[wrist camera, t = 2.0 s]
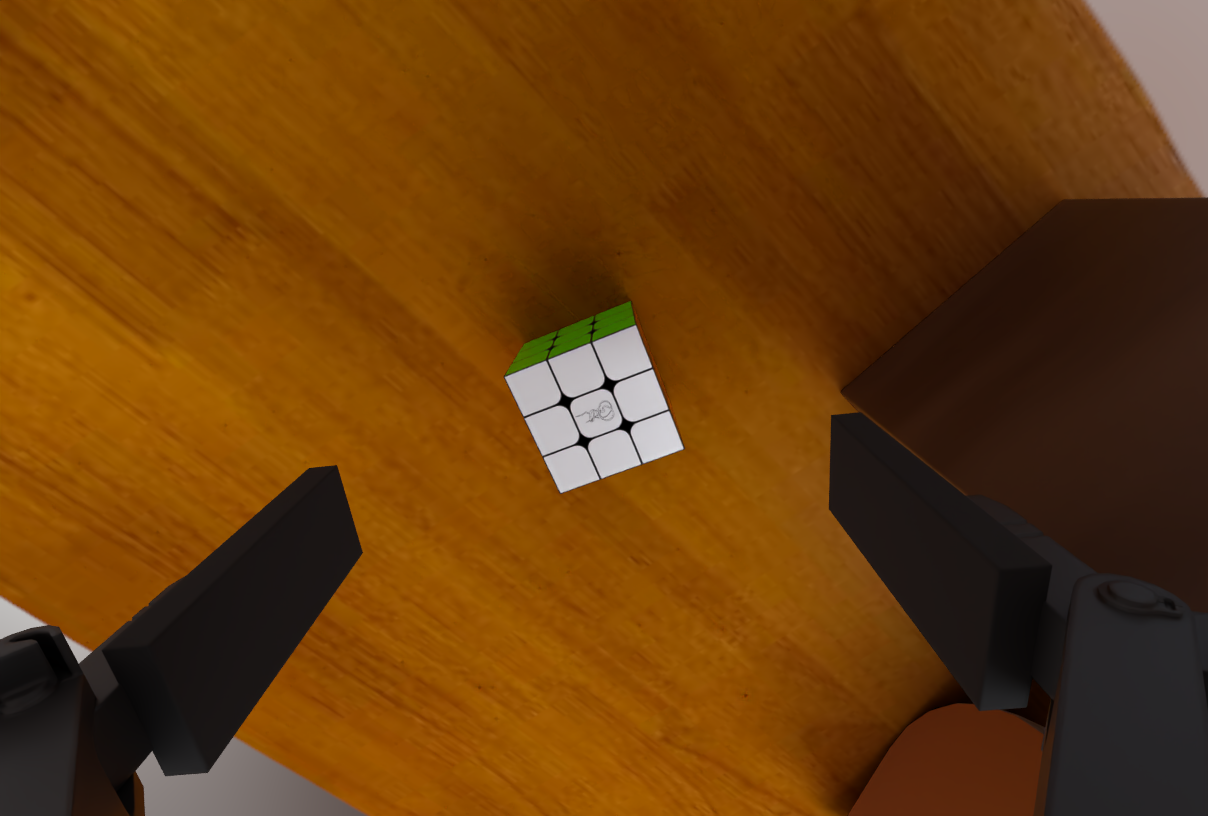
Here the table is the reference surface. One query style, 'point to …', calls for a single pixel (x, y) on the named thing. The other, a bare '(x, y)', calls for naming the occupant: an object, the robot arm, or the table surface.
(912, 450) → the walnut step
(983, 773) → the alarm clock
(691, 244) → the table surface
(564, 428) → the rubik's cube
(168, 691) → the robot arm
